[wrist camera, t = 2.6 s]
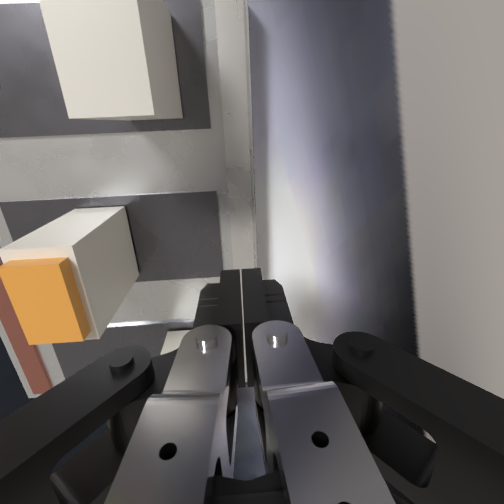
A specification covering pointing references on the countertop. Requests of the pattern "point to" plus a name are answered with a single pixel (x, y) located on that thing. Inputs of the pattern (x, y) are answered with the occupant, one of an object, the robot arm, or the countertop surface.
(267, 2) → the countertop surface
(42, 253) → the block
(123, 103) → the block
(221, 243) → the panel
